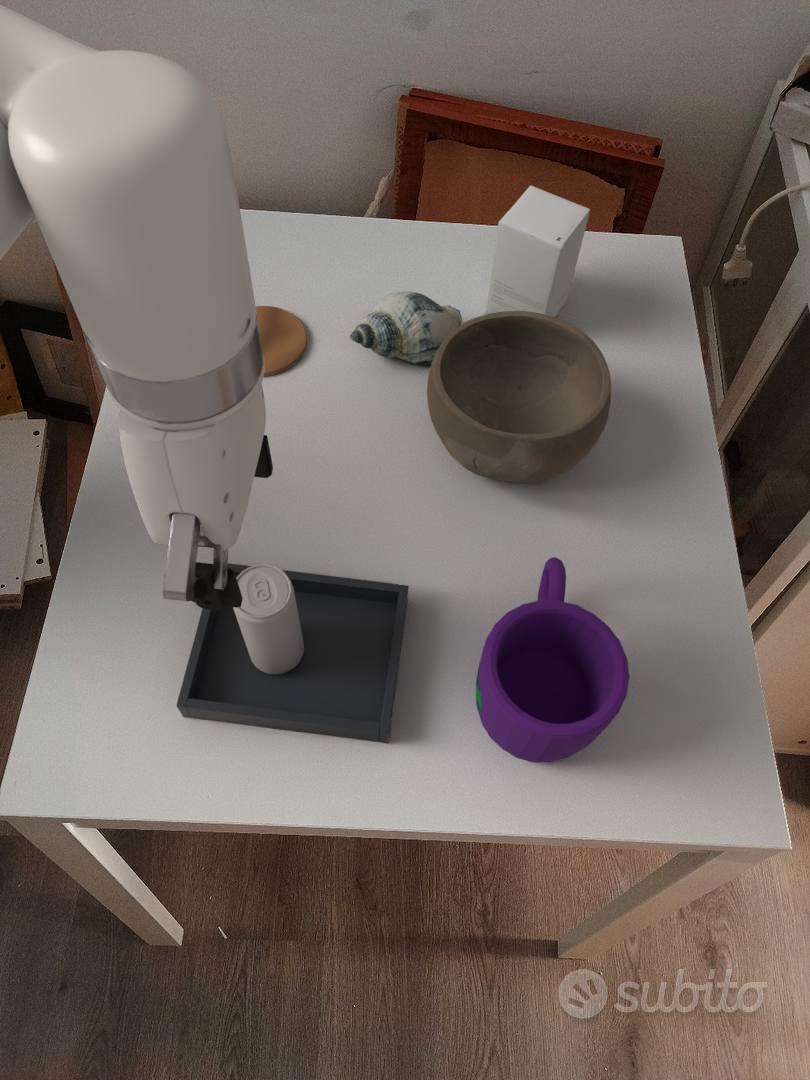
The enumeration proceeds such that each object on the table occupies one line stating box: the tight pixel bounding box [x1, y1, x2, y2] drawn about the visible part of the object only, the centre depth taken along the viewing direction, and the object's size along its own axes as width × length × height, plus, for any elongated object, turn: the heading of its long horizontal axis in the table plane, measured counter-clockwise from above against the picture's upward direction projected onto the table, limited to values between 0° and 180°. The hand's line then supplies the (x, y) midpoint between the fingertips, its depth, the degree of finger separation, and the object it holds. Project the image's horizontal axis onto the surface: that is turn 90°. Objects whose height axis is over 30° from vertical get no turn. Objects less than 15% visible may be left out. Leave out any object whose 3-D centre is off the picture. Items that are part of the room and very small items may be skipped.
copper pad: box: [256, 305, 308, 377], centre depth 91 cm, size 10×10×1 cm
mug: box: [475, 556, 630, 764], centre depth 69 cm, size 17×11×10 cm, turn 172°
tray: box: [176, 562, 409, 744], centre depth 72 cm, size 18×14×3 cm
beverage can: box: [233, 563, 304, 674], centre depth 68 cm, size 5×5×12 cm
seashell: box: [349, 290, 463, 365], centre depth 89 cm, size 6×8×12 cm
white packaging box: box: [485, 185, 591, 318], centre depth 90 cm, size 7×7×13 cm
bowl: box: [426, 311, 612, 484], centre depth 82 cm, size 17×18×10 cm
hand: (234, 533), depth 53 cm, fingers open, 9 cm apart
